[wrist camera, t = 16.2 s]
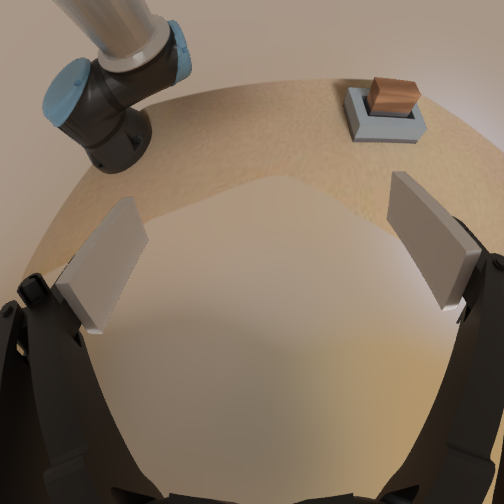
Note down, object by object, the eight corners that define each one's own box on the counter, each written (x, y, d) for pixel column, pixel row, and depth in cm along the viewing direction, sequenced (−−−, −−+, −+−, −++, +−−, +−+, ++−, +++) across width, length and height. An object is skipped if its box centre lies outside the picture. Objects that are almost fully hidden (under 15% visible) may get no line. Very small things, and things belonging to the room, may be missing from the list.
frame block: (415, 143, 46) (427, 128, 40) (353, 142, 47) (360, 125, 41) (402, 108, 47) (412, 92, 41) (343, 105, 49) (348, 87, 43)
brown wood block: (400, 126, 45) (420, 94, 34) (364, 125, 46) (380, 90, 35) (396, 114, 46) (414, 82, 35) (361, 113, 46) (374, 77, 36)
